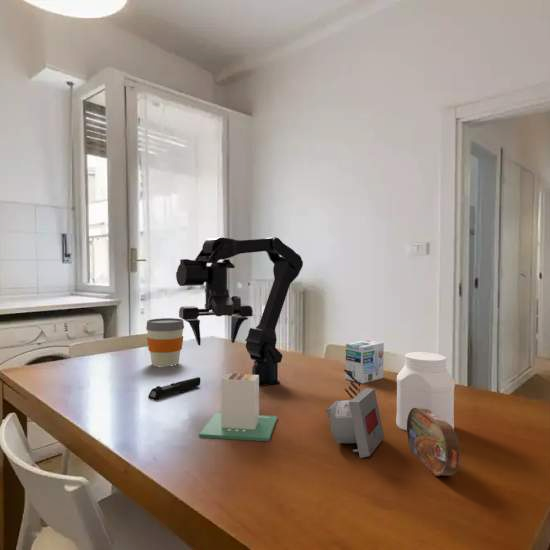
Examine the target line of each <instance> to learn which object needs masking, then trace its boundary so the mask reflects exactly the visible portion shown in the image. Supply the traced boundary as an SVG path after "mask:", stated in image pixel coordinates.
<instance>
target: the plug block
mask: <svg viewBox="0 0 550 550" xmlns="http://www.w3.org/2000/svg"><path fill="white" fill-rule="evenodd" d="M220 385H221V387H220V388H221V390H220V391H221V396H220V397H221V402H220V403H221V405H220V406H221V409H220V410H221V412H220V413H221V428H237V429H254V430H255V428H256V426H257V424H258V422H259V415H260V413H259V412H260V385H259V375H252V373H247V374H245V373H226V374H225V375H224V376H223V377H222V378H221V383H220Z"/></svg>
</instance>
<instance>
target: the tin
mask: <svg viewBox="0 0 550 550" xmlns="http://www.w3.org/2000/svg"><path fill="white" fill-rule="evenodd" d="M455 430H456V429H455V428H454V429H453V428H452V426H451V425H450V424H448V423H447V422H446V421H444V420H443V419H441V418H440V417H439V416H437V415H436V414H435V413H433V412H432V411H430V410H429V409H421V408H412V409H411V410H410V412H409V415H408V419H407V430H406V435H407V440H408V442H407V443H408V445H409V448H410V450H411V452H412V454H413V455H414V457H416V458H417V459H418V460H419V461H420V462H421V463H422V464H423V466H425V467H426V468H427V470H429V472H430V471H431V472H430V473H433V474H432V475H434V476H435V477H438V476H439V477H440V476H453V475H455V474H456V473H457V472H458V470H459V464H460V450H461V448H460V441H459V437H458V435H457V433H456V431H455Z"/></svg>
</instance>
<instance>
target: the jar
mask: <svg viewBox="0 0 550 550" xmlns="http://www.w3.org/2000/svg"><path fill="white" fill-rule="evenodd" d="M455 385H456V384H455V380H454V378H453V377H452V375H451V374H450V372H449V371H448V368H447V357H446V356H444V355H443V354H441V353H440V354H438V353H435V352H426V351H425V352H424V351H416V352H415V351H412V352H408V353H405V354H404V366H403V367H402V369H400V372H398V374H397V376H396V417H395V418H396V419H395V423H396V426H397V427H398V428H399V429H401V430H404V431H407V419H408V415H409V412H410V410H411V409H412V408H421V409H429V410H430V411H432V412H433V413H435V414H436V415H437V416H439V417H440V418H441V419H443V420H444V421H446V422H447V423H448V424H450V425H451V426H452V428H453V429H454V430H455V422H454V420H455V419H454V413H455V408H454V407H455Z"/></svg>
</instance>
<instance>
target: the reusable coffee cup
mask: <svg viewBox="0 0 550 550" xmlns="http://www.w3.org/2000/svg"><path fill="white" fill-rule="evenodd" d="M184 324H185V323H184V319H182V318H173V317H167V318H153V319H148V320H146V327H145V328H146V332H147V337H146V340H147V348H148V351H149V353H150V361H151V366H152V365H154V366H171V365H175V364H178V363H179V364H180V356H181V351H182V349H183V343H184V342H183V341H184V335H183V332H184V329H185V325H184ZM179 364H178V365H179ZM154 366H153V367H154ZM171 367H172V366H171Z"/></svg>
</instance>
